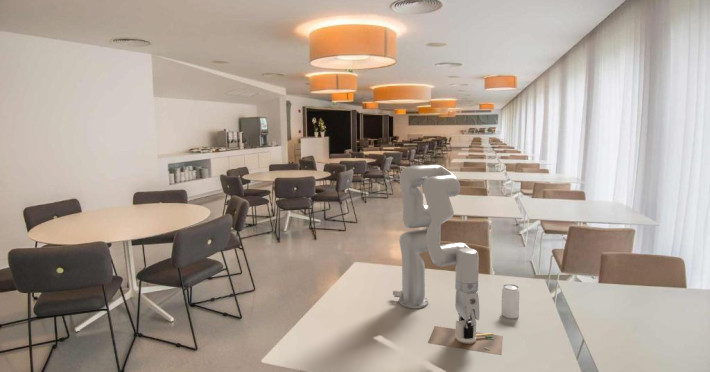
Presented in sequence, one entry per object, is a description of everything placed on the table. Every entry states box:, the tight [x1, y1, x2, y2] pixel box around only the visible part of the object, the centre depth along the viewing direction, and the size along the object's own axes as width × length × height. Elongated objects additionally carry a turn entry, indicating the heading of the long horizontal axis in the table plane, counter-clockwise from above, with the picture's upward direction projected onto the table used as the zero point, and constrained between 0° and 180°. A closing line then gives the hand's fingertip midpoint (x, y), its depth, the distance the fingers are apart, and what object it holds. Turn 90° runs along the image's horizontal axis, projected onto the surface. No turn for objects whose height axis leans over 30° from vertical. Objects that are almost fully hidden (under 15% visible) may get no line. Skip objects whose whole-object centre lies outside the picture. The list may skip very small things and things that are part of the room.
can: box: [501, 283, 520, 320], centre depth 167 cm, size 6×6×12 cm
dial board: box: [427, 325, 504, 356], centre depth 147 cm, size 24×13×2 cm, turn 69°
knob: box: [455, 320, 494, 344], centre depth 147 cm, size 14×7×6 cm, turn 99°
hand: (465, 334), depth 147 cm, fingers open, 3 cm apart
